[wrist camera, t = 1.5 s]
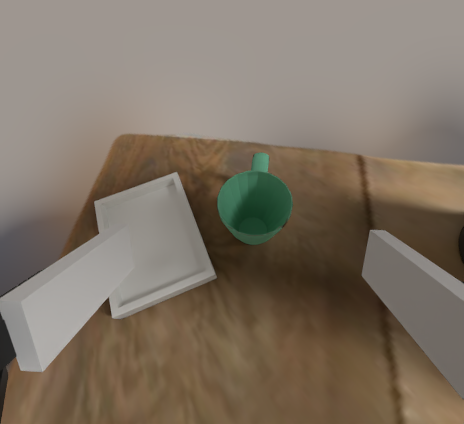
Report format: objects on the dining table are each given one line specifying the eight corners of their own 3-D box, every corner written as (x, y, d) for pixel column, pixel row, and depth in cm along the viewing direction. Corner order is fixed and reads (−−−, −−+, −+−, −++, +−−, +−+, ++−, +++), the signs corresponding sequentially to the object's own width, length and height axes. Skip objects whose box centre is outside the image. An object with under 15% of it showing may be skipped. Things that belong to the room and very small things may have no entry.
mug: (281, 263, 37) (291, 240, 28) (218, 255, 38) (210, 231, 29) (285, 184, 43) (295, 146, 35) (232, 180, 45) (228, 141, 36)
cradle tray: (180, 179, 45) (176, 171, 43) (217, 278, 36) (215, 274, 34) (102, 208, 43) (94, 201, 41) (120, 319, 35) (112, 318, 32)
